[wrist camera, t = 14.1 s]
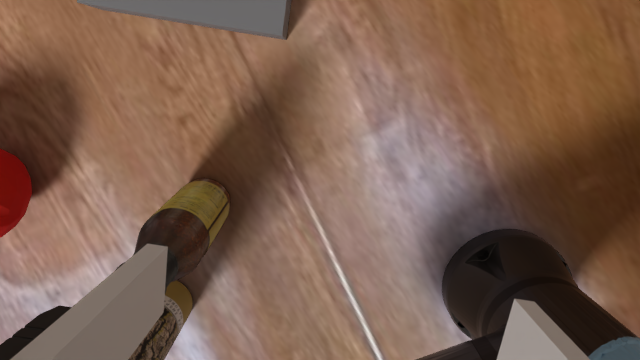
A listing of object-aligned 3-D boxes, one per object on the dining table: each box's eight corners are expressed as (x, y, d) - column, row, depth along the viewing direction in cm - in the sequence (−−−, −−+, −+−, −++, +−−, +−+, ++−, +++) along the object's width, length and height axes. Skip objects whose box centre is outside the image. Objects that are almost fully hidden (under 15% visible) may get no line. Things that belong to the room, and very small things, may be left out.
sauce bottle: (176, 180, 47) (74, 252, 28) (227, 172, 47) (159, 240, 28) (189, 230, 49) (101, 331, 30) (238, 223, 49) (181, 320, 29)
